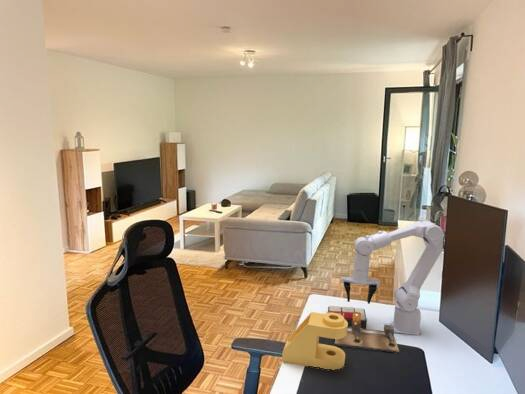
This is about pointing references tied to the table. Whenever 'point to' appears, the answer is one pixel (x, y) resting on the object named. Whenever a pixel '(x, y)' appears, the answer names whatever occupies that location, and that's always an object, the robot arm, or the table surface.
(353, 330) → the slider leg
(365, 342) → the board
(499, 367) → the table surface
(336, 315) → the yellow clevis bracket
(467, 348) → the table surface
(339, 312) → the button panel
